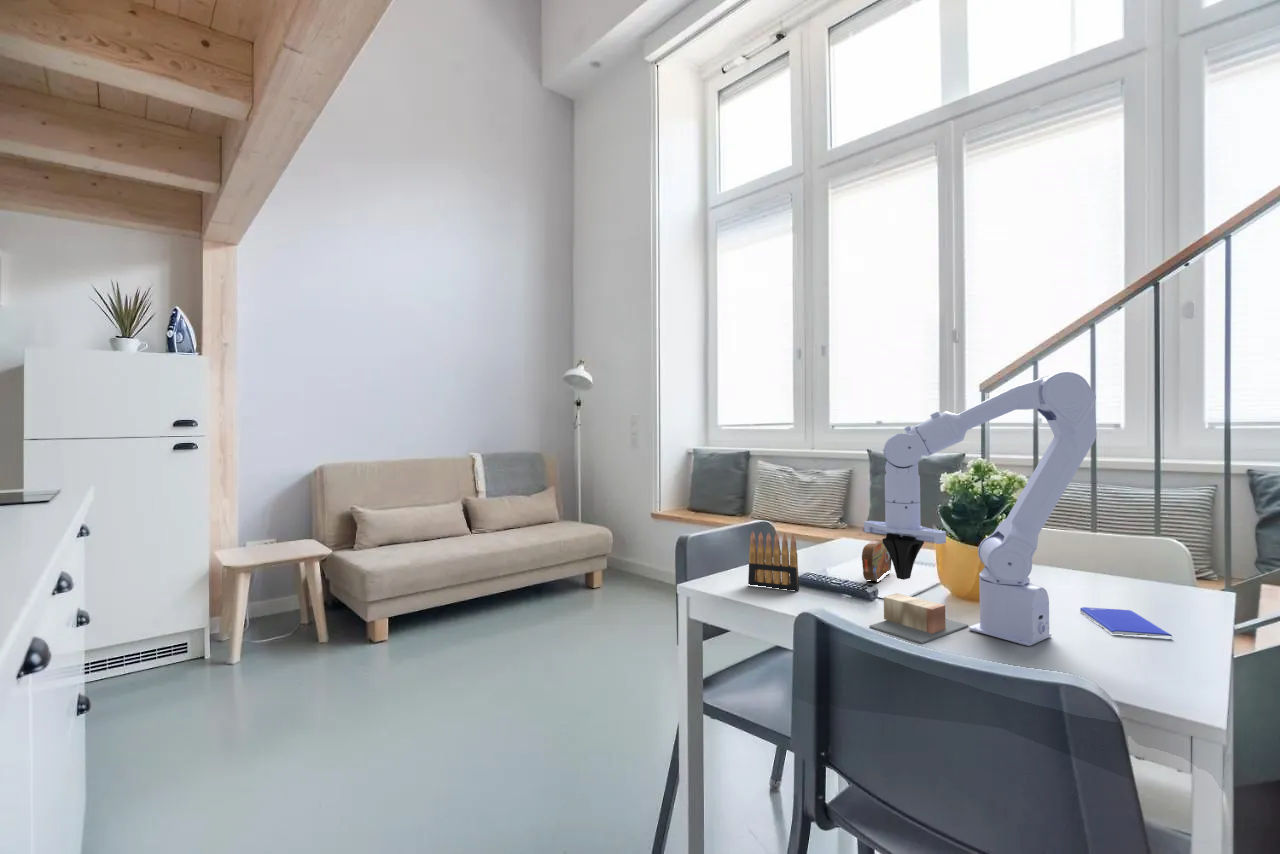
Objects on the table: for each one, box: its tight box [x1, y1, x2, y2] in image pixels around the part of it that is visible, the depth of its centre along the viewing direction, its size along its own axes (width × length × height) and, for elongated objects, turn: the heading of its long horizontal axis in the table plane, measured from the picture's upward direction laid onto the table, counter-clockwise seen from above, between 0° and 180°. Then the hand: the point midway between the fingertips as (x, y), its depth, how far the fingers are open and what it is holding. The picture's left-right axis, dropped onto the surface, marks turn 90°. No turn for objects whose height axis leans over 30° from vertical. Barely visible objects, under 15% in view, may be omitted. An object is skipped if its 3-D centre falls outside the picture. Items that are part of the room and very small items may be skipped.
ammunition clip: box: [747, 531, 800, 592], centre depth 129 cm, size 11×2×12 cm, turn 65°
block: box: [883, 592, 946, 634], centre depth 104 cm, size 4×4×9 cm
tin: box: [861, 538, 892, 583], centre depth 136 cm, size 15×3×8 cm, turn 143°
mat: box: [869, 618, 969, 645], centre depth 103 cm, size 10×14×1 cm
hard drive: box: [1079, 606, 1173, 637], centre depth 102 cm, size 2×8×12 cm
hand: (903, 578), depth 105 cm, fingers closed
